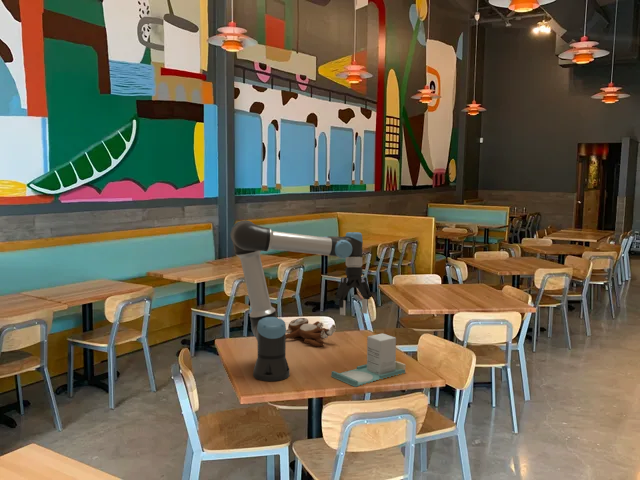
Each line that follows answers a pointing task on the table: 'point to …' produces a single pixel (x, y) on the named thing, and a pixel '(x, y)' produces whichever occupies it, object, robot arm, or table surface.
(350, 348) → the table surface
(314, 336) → the toy
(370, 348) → the supplement box
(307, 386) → the table surface
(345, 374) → the teal flat tray
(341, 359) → the table surface
